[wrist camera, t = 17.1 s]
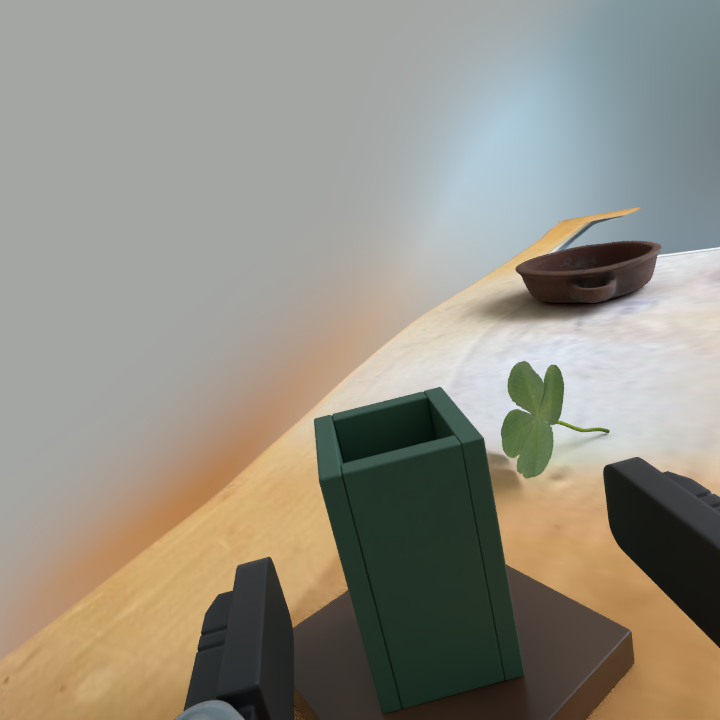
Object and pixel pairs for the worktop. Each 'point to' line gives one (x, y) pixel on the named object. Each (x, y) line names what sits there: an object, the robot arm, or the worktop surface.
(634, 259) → the dish
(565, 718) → the brown peg stand
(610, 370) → the worktop surface
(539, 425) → the green leafy piece
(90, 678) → the worktop surface
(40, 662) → the worktop surface
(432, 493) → the sleeve
